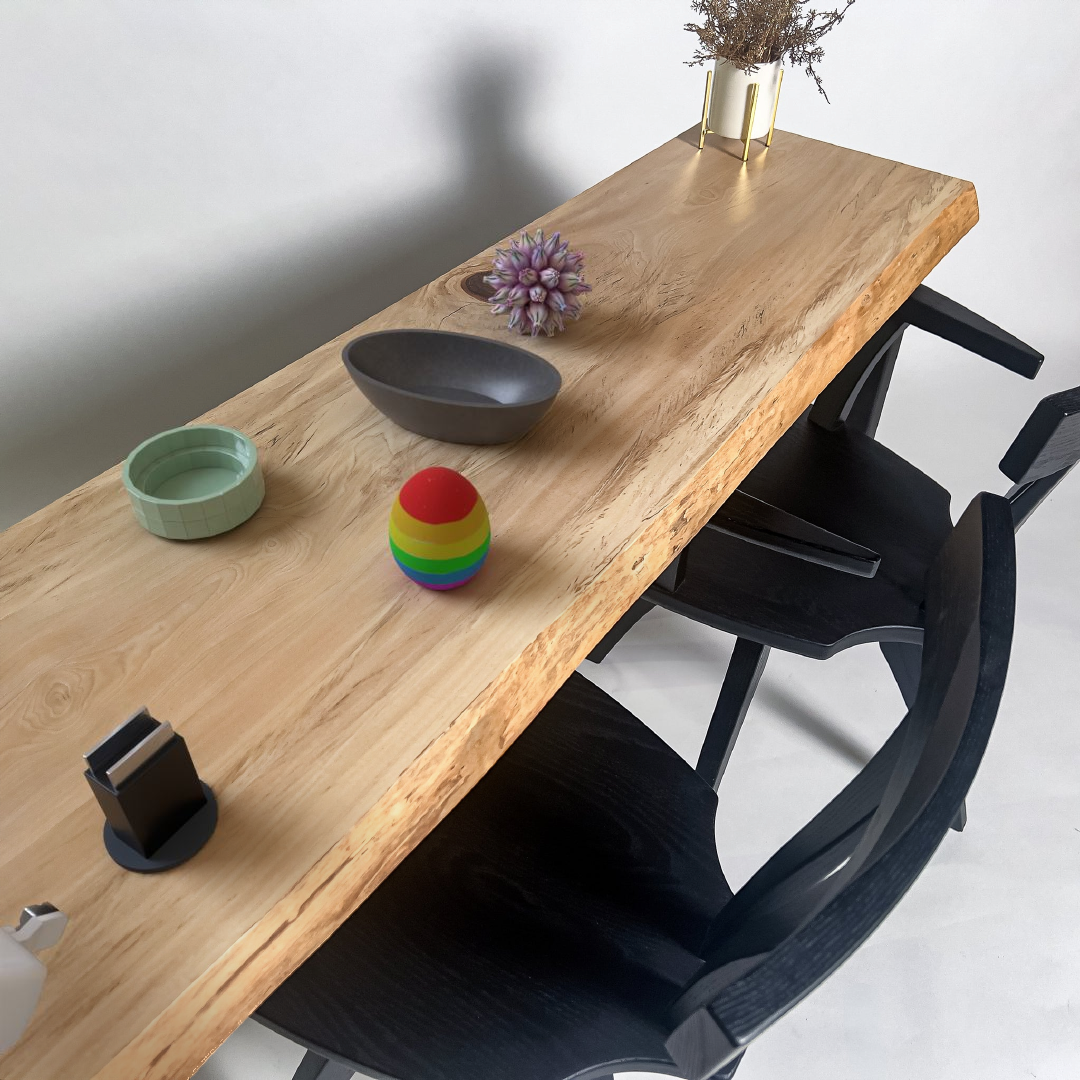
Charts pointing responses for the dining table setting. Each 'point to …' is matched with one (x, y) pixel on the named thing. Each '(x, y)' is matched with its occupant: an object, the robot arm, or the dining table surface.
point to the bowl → (452, 383)
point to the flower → (537, 283)
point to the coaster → (175, 848)
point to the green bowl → (194, 481)
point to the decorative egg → (439, 529)
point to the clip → (144, 781)
